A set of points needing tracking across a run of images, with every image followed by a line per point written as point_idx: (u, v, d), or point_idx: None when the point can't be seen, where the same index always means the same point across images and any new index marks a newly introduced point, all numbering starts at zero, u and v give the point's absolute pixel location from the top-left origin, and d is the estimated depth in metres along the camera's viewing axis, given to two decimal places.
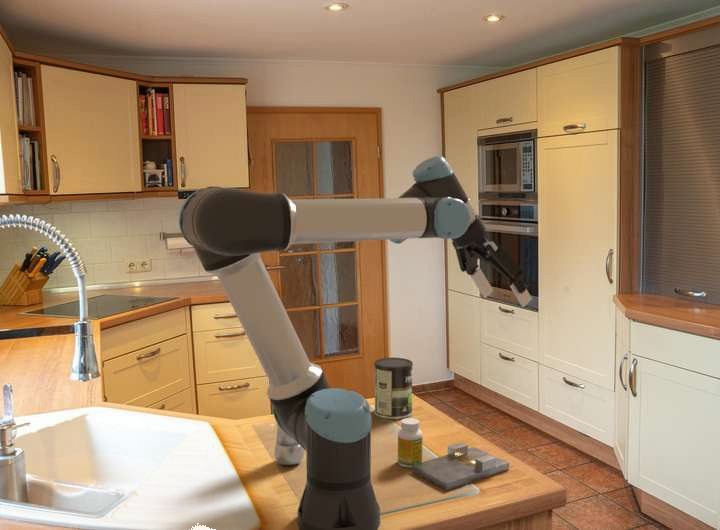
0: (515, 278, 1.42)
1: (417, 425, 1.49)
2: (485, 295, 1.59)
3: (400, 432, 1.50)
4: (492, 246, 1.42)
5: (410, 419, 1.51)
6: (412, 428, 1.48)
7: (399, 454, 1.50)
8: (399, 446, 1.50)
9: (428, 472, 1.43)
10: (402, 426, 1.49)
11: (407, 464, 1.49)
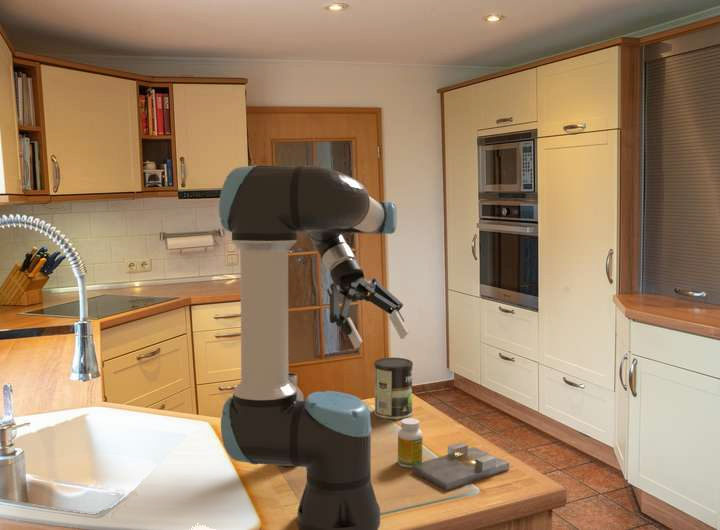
0: (401, 303, 1.65)
1: (417, 425, 1.49)
2: None
3: (400, 432, 1.50)
4: None
5: (410, 419, 1.51)
6: (412, 428, 1.48)
7: (399, 454, 1.50)
8: (399, 446, 1.50)
9: (428, 472, 1.43)
10: (402, 426, 1.49)
11: (407, 464, 1.49)
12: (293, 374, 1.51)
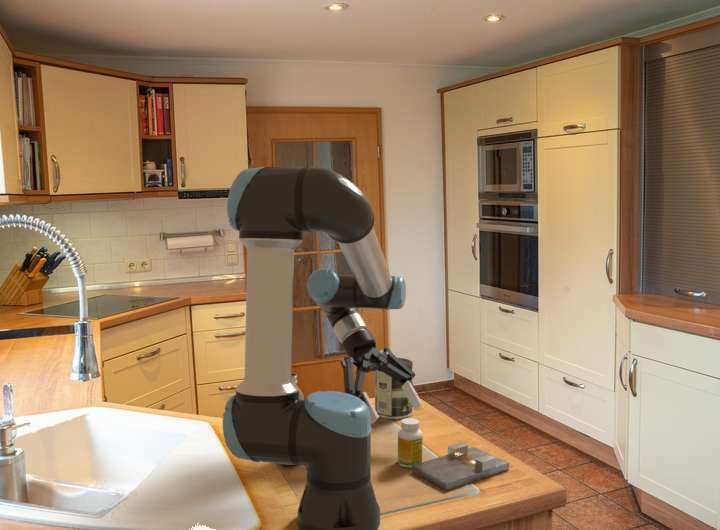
0: (413, 372, 1.64)
1: (417, 425, 1.49)
2: None
3: (400, 432, 1.50)
4: None
5: (410, 419, 1.51)
6: (412, 428, 1.48)
7: (399, 454, 1.50)
8: (399, 446, 1.50)
9: (428, 472, 1.43)
10: (402, 426, 1.49)
11: (407, 464, 1.49)
12: (293, 374, 1.51)
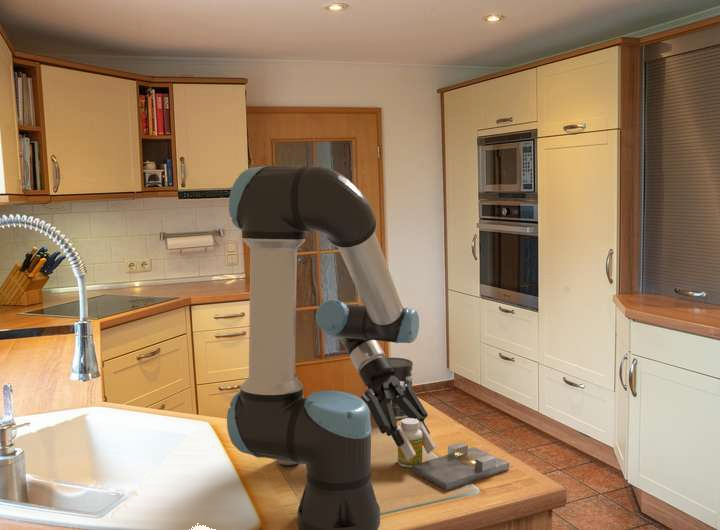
0: (426, 413, 1.55)
1: (417, 425, 1.49)
2: None
3: None
4: None
5: (410, 419, 1.51)
6: (412, 428, 1.48)
7: (399, 454, 1.50)
8: (399, 446, 1.50)
9: (428, 472, 1.43)
10: (402, 426, 1.49)
11: (407, 464, 1.49)
12: None
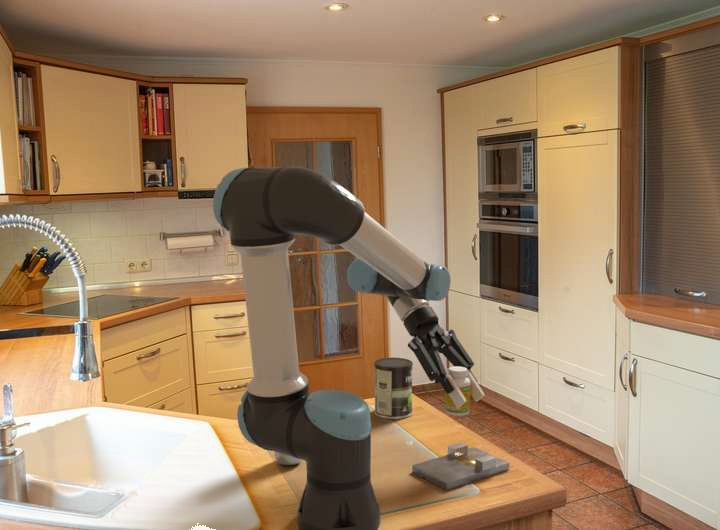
0: (472, 362, 1.53)
1: (465, 372, 1.47)
2: None
3: None
4: None
5: (458, 367, 1.49)
6: (461, 375, 1.46)
7: (447, 402, 1.48)
8: (447, 394, 1.48)
9: (428, 472, 1.43)
10: (450, 373, 1.47)
11: (456, 412, 1.47)
12: None
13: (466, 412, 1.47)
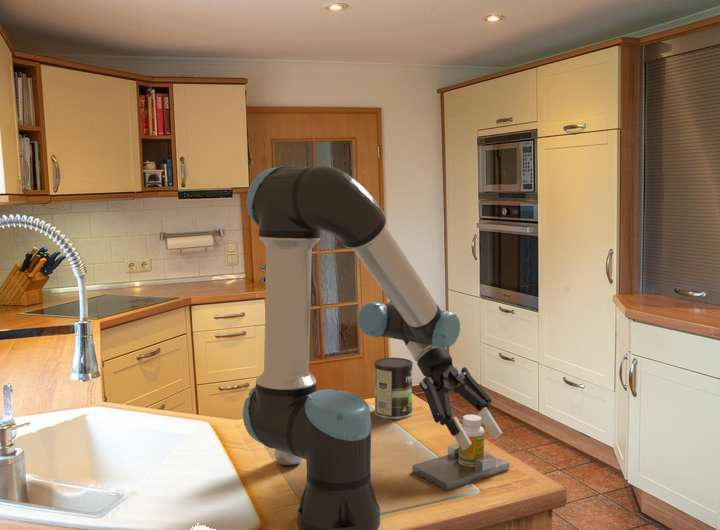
0: (489, 398, 1.54)
1: (479, 421, 1.47)
2: None
3: None
4: None
5: (472, 416, 1.49)
6: (475, 424, 1.46)
7: (461, 451, 1.48)
8: None
9: (428, 472, 1.43)
10: (464, 422, 1.47)
11: (469, 461, 1.46)
12: None
13: None
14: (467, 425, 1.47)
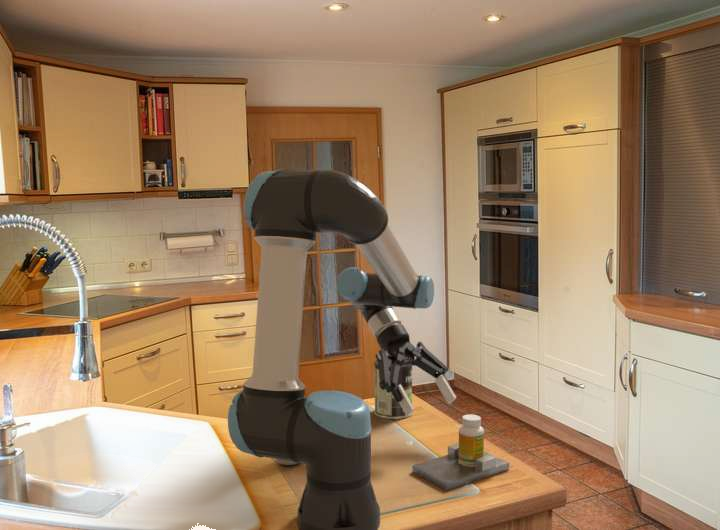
0: (446, 367, 1.67)
1: (479, 421, 1.47)
2: None
3: (461, 428, 1.48)
4: None
5: (471, 416, 1.49)
6: (474, 424, 1.46)
7: (460, 451, 1.48)
8: (460, 443, 1.47)
9: (428, 472, 1.43)
10: (464, 422, 1.47)
11: (469, 461, 1.46)
12: None
13: None
14: (466, 425, 1.47)
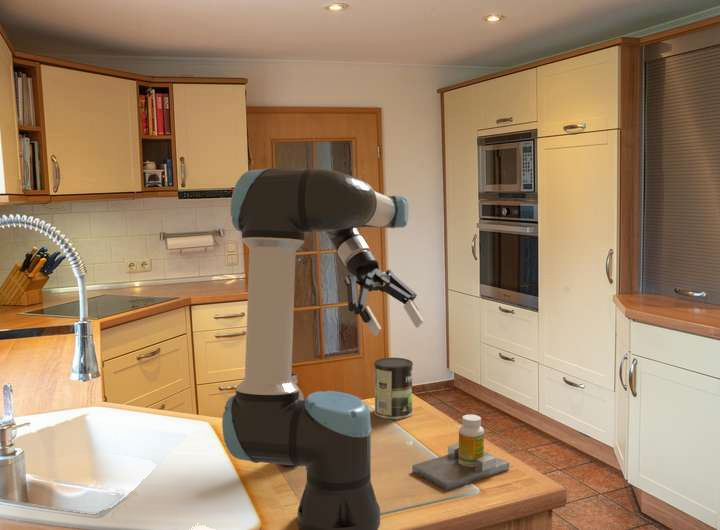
0: (414, 293, 1.70)
1: (479, 421, 1.47)
2: None
3: (461, 428, 1.47)
4: None
5: (471, 416, 1.49)
6: (474, 424, 1.46)
7: (460, 451, 1.48)
8: (460, 443, 1.47)
9: (428, 472, 1.43)
10: (464, 422, 1.47)
11: (469, 461, 1.46)
12: (293, 374, 1.51)
13: None
14: (467, 425, 1.47)
